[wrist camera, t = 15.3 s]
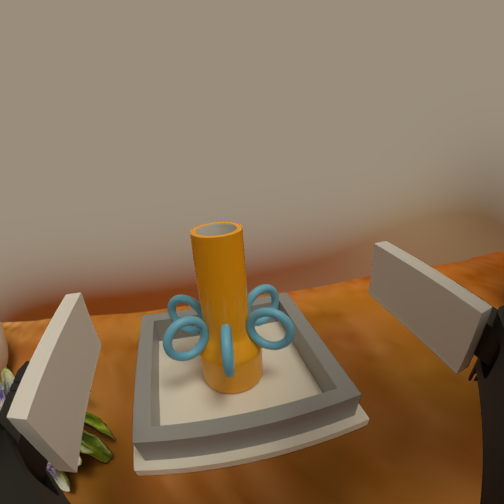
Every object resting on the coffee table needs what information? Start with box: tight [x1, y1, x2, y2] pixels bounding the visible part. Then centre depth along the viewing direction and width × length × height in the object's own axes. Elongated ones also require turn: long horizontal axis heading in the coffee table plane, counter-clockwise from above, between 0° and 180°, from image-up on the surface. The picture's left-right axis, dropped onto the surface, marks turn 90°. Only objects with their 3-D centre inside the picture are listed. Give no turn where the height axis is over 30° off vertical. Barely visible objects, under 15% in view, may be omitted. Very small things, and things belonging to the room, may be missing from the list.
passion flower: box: [0, 366, 116, 492], centre depth 16 cm, size 11×11×12 cm
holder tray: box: [132, 293, 369, 476], centre depth 27 cm, size 20×20×4 cm
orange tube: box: [163, 222, 295, 394], centre depth 25 cm, size 12×10×15 cm
